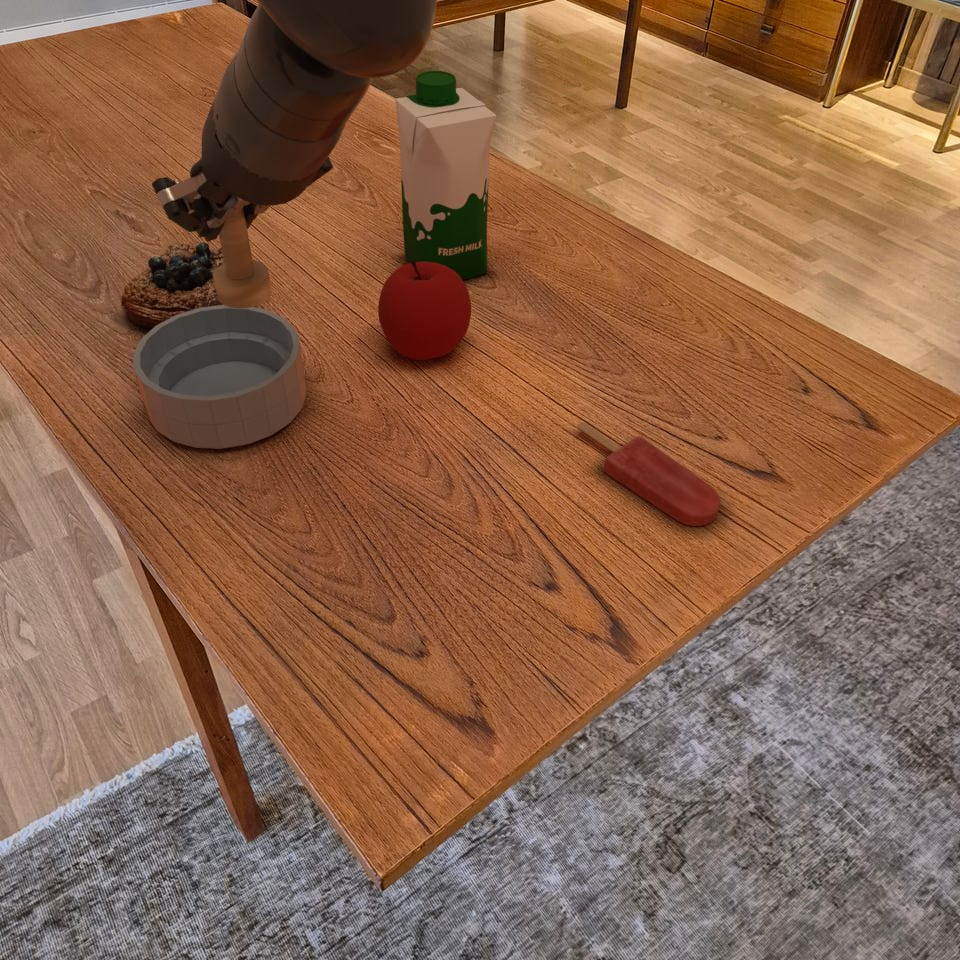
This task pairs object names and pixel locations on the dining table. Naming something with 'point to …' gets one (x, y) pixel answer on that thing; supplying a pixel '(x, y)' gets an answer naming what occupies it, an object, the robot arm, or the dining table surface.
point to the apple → (424, 310)
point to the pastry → (172, 285)
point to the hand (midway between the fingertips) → (220, 223)
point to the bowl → (221, 376)
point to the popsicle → (658, 479)
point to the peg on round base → (240, 268)
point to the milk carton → (445, 174)
